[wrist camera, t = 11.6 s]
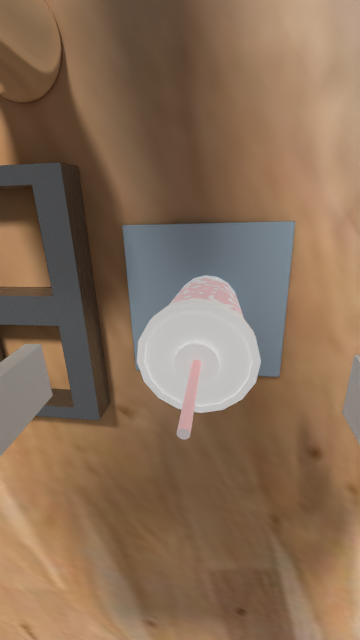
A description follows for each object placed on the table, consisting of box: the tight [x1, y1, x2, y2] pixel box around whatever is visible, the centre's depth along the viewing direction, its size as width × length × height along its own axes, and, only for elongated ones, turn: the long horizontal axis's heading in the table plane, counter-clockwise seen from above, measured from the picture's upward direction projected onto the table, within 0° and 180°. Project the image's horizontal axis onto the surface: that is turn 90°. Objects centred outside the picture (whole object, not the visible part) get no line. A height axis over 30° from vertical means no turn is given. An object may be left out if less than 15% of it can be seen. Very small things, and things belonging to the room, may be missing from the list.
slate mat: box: [122, 221, 295, 377], centre depth 23 cm, size 12×12×1 cm
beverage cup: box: [137, 275, 261, 440], centre depth 17 cm, size 6×6×14 cm
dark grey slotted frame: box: [0, 162, 110, 421], centre depth 25 cm, size 20×12×2 cm, turn 2°
